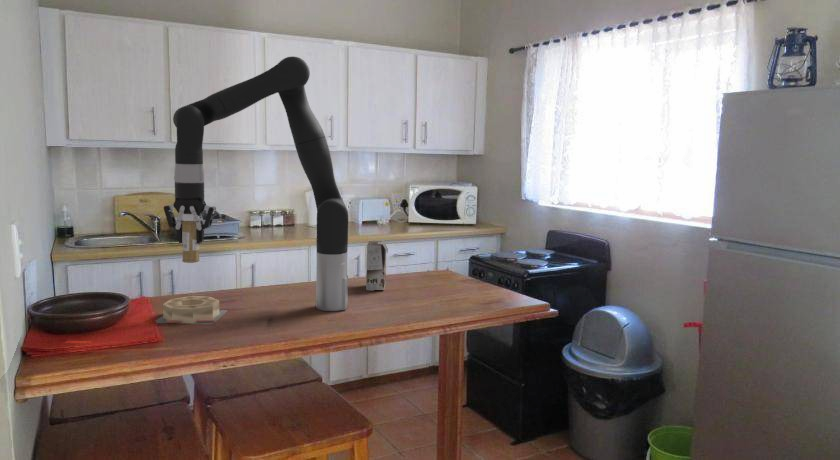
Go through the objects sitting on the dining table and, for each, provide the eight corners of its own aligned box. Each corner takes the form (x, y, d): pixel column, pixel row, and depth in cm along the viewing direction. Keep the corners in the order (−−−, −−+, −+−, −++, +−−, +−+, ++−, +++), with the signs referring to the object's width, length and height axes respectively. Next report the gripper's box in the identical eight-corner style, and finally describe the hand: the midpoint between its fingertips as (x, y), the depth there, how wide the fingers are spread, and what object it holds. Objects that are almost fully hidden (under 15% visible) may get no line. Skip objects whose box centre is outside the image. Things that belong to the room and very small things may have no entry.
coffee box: (384, 291, 207) (385, 245, 204) (365, 290, 207) (366, 244, 204) (386, 285, 216) (387, 241, 213) (368, 284, 216) (369, 240, 214)
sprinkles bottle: (201, 262, 165) (200, 213, 163) (183, 263, 162) (183, 214, 161) (197, 259, 169) (196, 212, 167) (180, 260, 166) (179, 212, 164)
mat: (228, 312, 175) (228, 310, 175) (212, 326, 161) (212, 324, 161) (172, 310, 174) (172, 308, 174) (152, 324, 160) (152, 322, 160)
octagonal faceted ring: (223, 310, 174) (223, 297, 174) (208, 323, 161) (207, 309, 160) (176, 309, 174) (176, 295, 174) (157, 322, 161) (156, 308, 160)
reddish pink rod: (214, 321, 163) (214, 318, 163) (214, 322, 162) (214, 319, 162) (166, 322, 161) (166, 319, 161) (165, 323, 160) (165, 320, 160)
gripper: (220, 181, 166) (220, 241, 169) (168, 179, 166) (169, 240, 168) (211, 182, 159) (212, 246, 161) (157, 180, 159) (158, 244, 161)
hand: (190, 242), depth 165 cm, fingers closed on sprinkles bottle, 4 cm apart
